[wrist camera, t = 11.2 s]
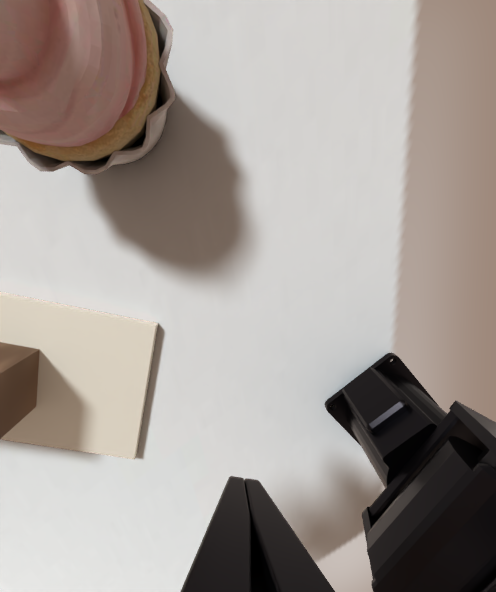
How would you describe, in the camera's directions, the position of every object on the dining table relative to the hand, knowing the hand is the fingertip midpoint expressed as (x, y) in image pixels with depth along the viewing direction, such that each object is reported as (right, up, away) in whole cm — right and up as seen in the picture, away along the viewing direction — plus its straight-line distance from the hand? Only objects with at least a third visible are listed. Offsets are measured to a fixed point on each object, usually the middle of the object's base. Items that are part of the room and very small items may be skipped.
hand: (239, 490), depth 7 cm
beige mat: (-16, 0, +12) cm, 20 cm away
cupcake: (-8, +16, +8) cm, 20 cm away
